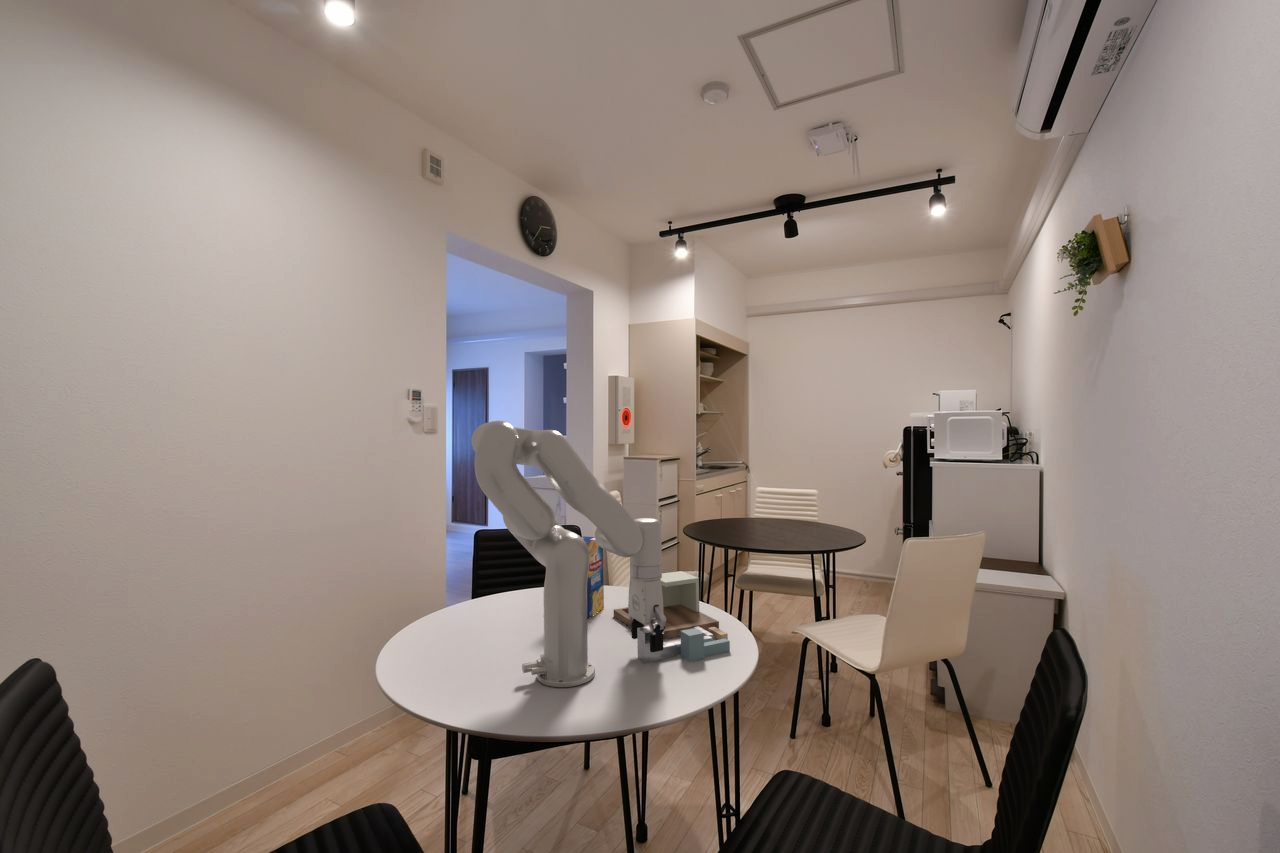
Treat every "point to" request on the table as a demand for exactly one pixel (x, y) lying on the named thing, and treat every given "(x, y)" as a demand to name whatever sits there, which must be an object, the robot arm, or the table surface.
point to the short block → (718, 633)
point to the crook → (668, 648)
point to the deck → (674, 620)
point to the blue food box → (594, 578)
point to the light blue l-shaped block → (700, 645)
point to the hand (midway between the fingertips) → (647, 644)
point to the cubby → (680, 590)
